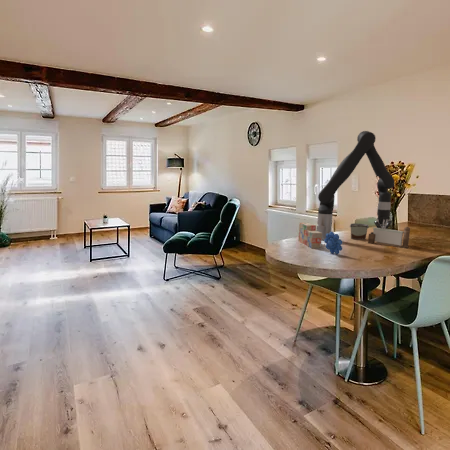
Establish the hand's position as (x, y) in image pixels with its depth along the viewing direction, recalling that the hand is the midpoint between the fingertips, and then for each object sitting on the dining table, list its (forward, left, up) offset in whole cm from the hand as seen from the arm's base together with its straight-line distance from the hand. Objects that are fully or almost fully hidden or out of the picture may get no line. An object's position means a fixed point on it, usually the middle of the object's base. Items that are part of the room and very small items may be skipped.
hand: (381, 235), depth 224 cm
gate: (-5, -5, -4) cm, 8 cm away
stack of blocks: (-44, +26, -5) cm, 52 cm away
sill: (-5, -7, -5) cm, 10 cm away
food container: (+1, +17, -5) cm, 17 cm away
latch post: (-8, +3, -5) cm, 10 cm away
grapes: (-56, +5, -5) cm, 57 cm away
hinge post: (-5, -16, -5) cm, 18 cm away
